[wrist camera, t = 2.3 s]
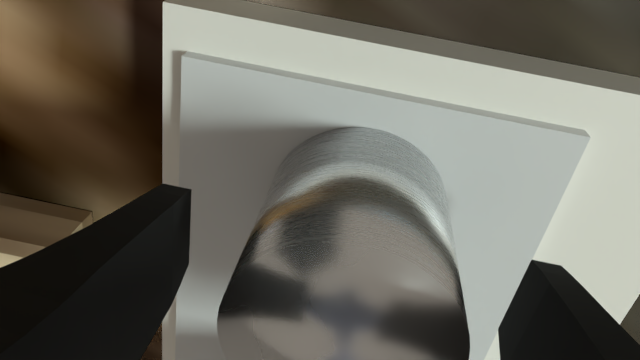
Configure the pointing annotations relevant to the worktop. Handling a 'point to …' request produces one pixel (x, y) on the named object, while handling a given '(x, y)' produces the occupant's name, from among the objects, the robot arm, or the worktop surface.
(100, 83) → the worktop surface
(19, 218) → the tray
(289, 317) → the cylinder
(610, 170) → the scale
